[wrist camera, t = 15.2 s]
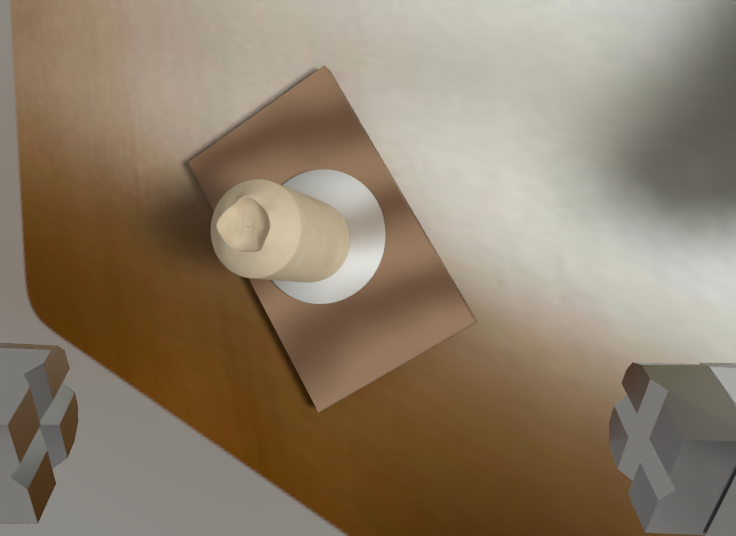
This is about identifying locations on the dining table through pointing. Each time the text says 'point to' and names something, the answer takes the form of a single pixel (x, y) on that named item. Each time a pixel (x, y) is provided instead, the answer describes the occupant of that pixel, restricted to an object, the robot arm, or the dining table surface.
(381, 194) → the board
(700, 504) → the robot arm
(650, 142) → the dining table surface
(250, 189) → the candle
